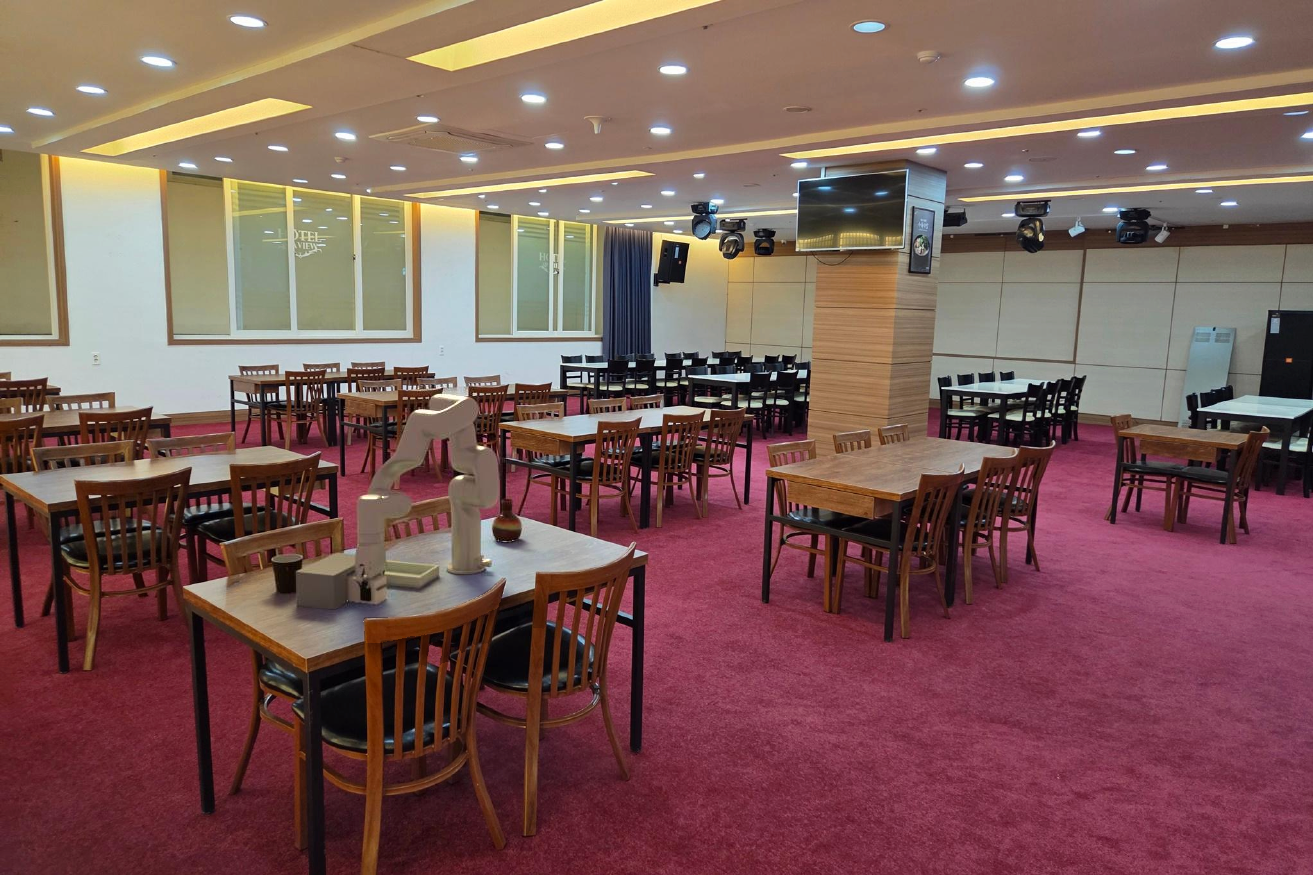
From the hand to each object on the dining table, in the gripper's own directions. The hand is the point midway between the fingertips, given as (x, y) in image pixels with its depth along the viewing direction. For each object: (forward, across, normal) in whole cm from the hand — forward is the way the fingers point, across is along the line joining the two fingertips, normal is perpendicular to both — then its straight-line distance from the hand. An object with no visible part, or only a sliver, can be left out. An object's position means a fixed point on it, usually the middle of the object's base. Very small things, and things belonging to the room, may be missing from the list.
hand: (371, 596), depth 243 cm
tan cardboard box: (+1, 0, -4) cm, 4 cm away
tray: (+1, -20, -3) cm, 20 cm away
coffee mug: (+2, +1, -28) cm, 28 cm away
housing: (+1, 0, -12) cm, 12 cm away
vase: (+1, -74, +12) cm, 75 cm away
